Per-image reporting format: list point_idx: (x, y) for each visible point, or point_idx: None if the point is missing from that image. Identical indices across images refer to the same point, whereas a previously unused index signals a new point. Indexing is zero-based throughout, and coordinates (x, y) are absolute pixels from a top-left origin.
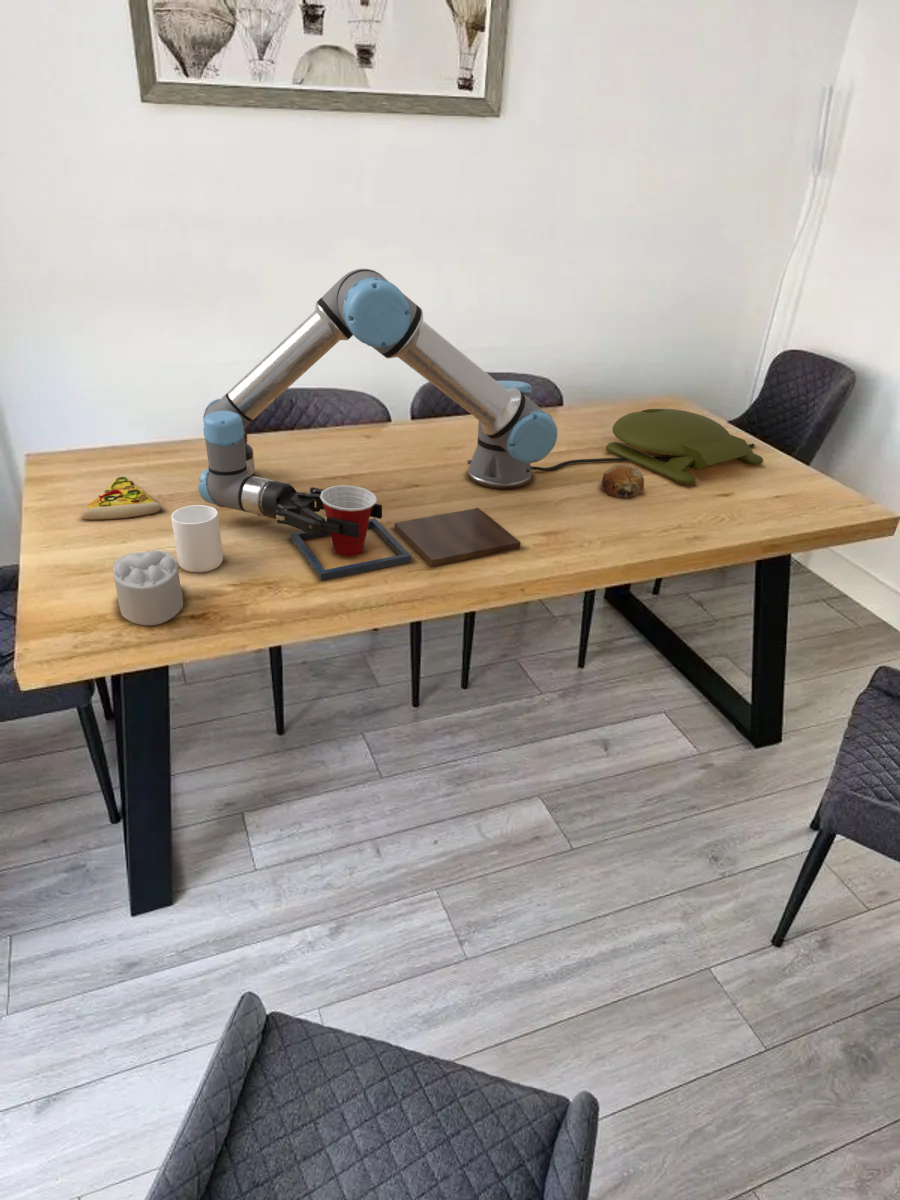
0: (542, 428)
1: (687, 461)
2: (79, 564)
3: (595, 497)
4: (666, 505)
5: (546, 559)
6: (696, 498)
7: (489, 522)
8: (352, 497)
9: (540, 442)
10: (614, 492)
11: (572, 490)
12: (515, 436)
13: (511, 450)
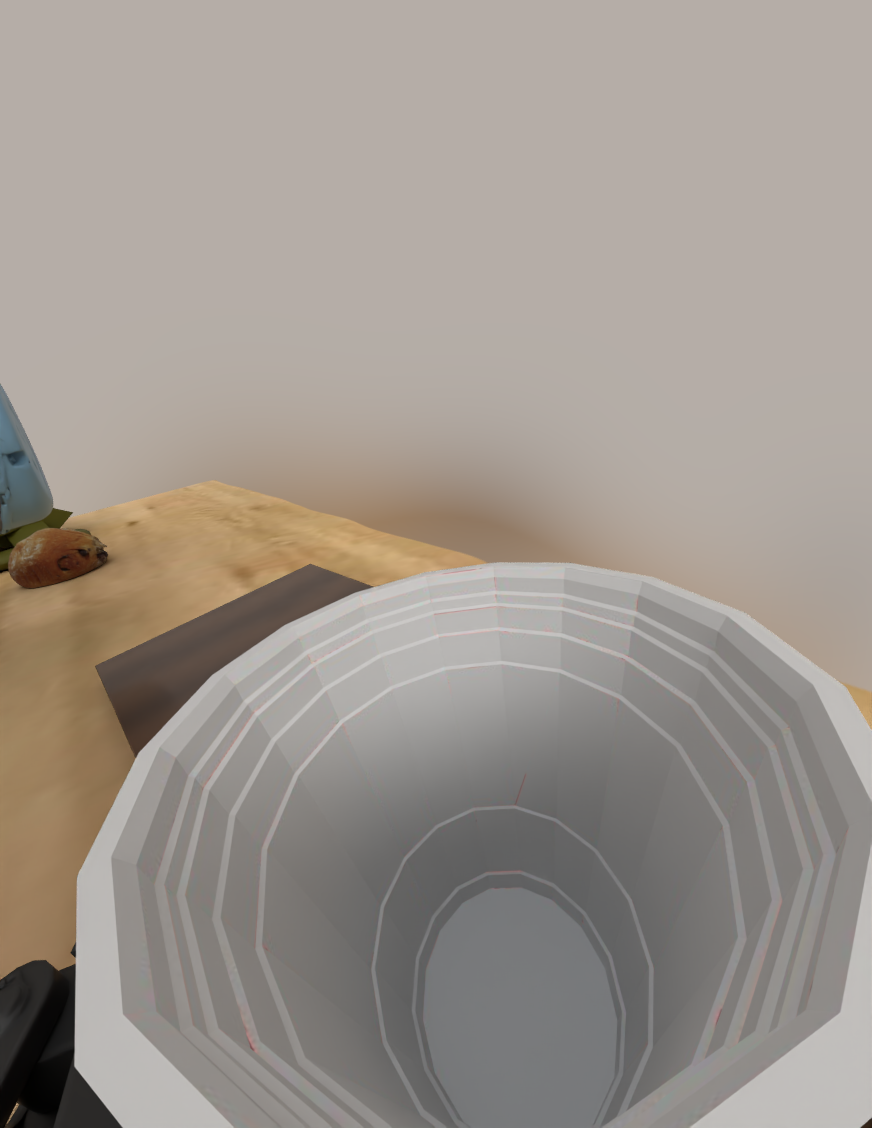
0: (12, 411)
1: (40, 525)
2: None
3: (88, 580)
4: (150, 537)
5: (349, 549)
6: (135, 530)
7: (207, 619)
8: (235, 848)
9: (31, 451)
10: (93, 561)
11: (33, 607)
12: (12, 424)
13: (27, 473)
